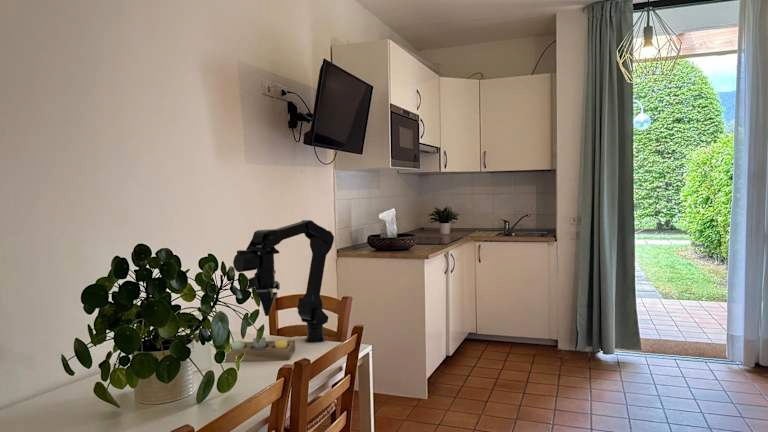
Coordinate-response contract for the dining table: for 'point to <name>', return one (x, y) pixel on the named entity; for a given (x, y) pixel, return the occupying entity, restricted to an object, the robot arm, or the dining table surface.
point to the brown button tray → (262, 352)
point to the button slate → (261, 345)
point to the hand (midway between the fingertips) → (267, 315)
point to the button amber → (281, 343)
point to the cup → (202, 353)
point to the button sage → (238, 345)
